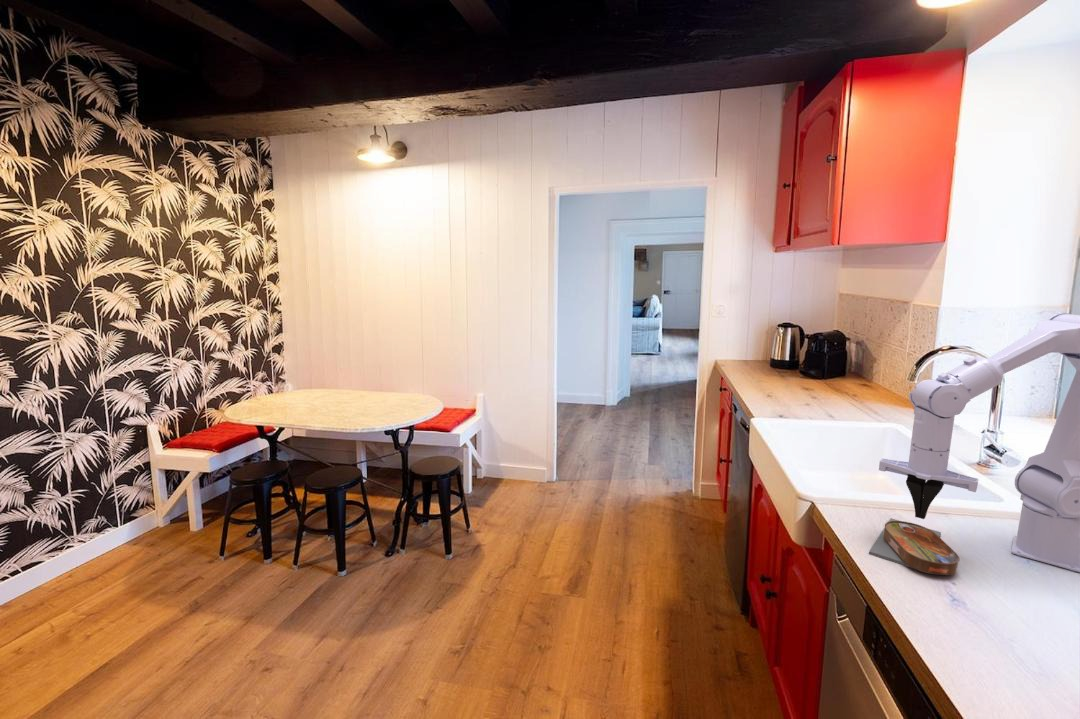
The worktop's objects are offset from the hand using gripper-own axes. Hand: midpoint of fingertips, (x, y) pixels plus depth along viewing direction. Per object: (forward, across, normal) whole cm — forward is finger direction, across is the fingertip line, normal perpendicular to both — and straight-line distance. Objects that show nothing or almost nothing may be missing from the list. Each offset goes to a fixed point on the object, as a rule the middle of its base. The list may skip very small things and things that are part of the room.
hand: (920, 516), depth 99 cm
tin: (+5, +4, 0) cm, 7 cm away
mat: (+7, -2, +1) cm, 7 cm away
